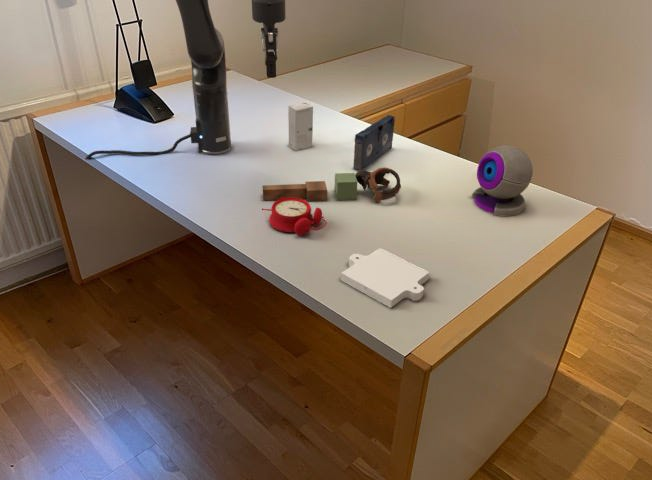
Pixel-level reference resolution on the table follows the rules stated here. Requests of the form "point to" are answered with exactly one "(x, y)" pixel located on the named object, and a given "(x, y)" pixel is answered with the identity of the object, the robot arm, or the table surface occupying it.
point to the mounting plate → (385, 277)
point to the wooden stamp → (296, 191)
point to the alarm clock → (294, 216)
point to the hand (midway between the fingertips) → (270, 71)
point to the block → (345, 186)
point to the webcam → (503, 180)
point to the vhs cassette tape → (373, 142)
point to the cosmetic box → (300, 125)
